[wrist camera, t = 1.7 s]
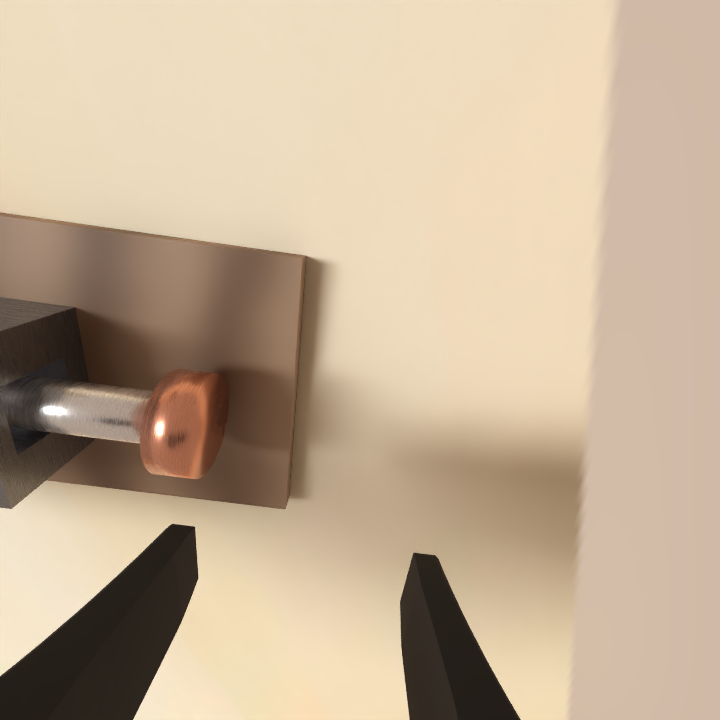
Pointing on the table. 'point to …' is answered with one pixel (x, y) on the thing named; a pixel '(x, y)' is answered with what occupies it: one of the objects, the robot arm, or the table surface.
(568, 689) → the table surface
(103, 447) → the base plate
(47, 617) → the table surface
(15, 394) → the shaft
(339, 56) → the table surface
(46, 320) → the bearing housing
